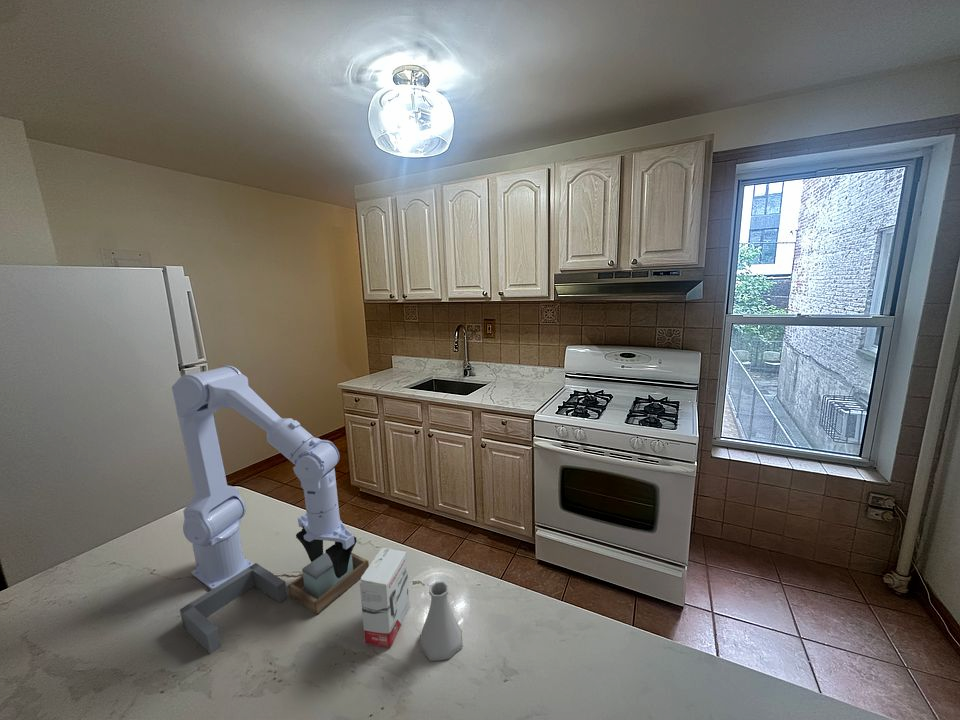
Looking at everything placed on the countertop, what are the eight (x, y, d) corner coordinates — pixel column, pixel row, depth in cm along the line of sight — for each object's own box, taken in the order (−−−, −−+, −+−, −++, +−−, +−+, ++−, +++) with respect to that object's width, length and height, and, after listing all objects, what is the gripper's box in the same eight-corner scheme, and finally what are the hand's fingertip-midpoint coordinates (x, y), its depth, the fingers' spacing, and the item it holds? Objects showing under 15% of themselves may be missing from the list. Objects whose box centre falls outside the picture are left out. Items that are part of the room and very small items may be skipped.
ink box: (391, 649, 60) (385, 585, 58) (363, 644, 61) (357, 581, 58) (411, 605, 68) (407, 548, 66) (387, 602, 69) (382, 545, 67)
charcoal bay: (183, 626, 65) (179, 609, 64) (258, 577, 76) (256, 562, 75) (210, 653, 60) (207, 635, 59) (287, 597, 71) (284, 581, 70)
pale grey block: (305, 591, 71) (302, 568, 70) (339, 565, 78) (337, 544, 77) (319, 600, 69) (316, 577, 68) (353, 573, 76) (351, 551, 75)
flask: (414, 631, 63) (411, 580, 61) (454, 615, 65) (452, 566, 64) (426, 670, 56) (422, 614, 54) (469, 650, 59) (467, 596, 57)
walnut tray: (289, 596, 71) (288, 585, 70) (342, 557, 81) (341, 547, 81) (317, 615, 66) (316, 603, 66) (369, 571, 77) (368, 560, 76)
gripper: (280, 505, 71) (288, 567, 73) (328, 527, 64) (336, 595, 66) (313, 488, 77) (319, 546, 79) (360, 507, 70) (366, 570, 72)
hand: (329, 567), depth 73 cm, fingers open, 7 cm apart
